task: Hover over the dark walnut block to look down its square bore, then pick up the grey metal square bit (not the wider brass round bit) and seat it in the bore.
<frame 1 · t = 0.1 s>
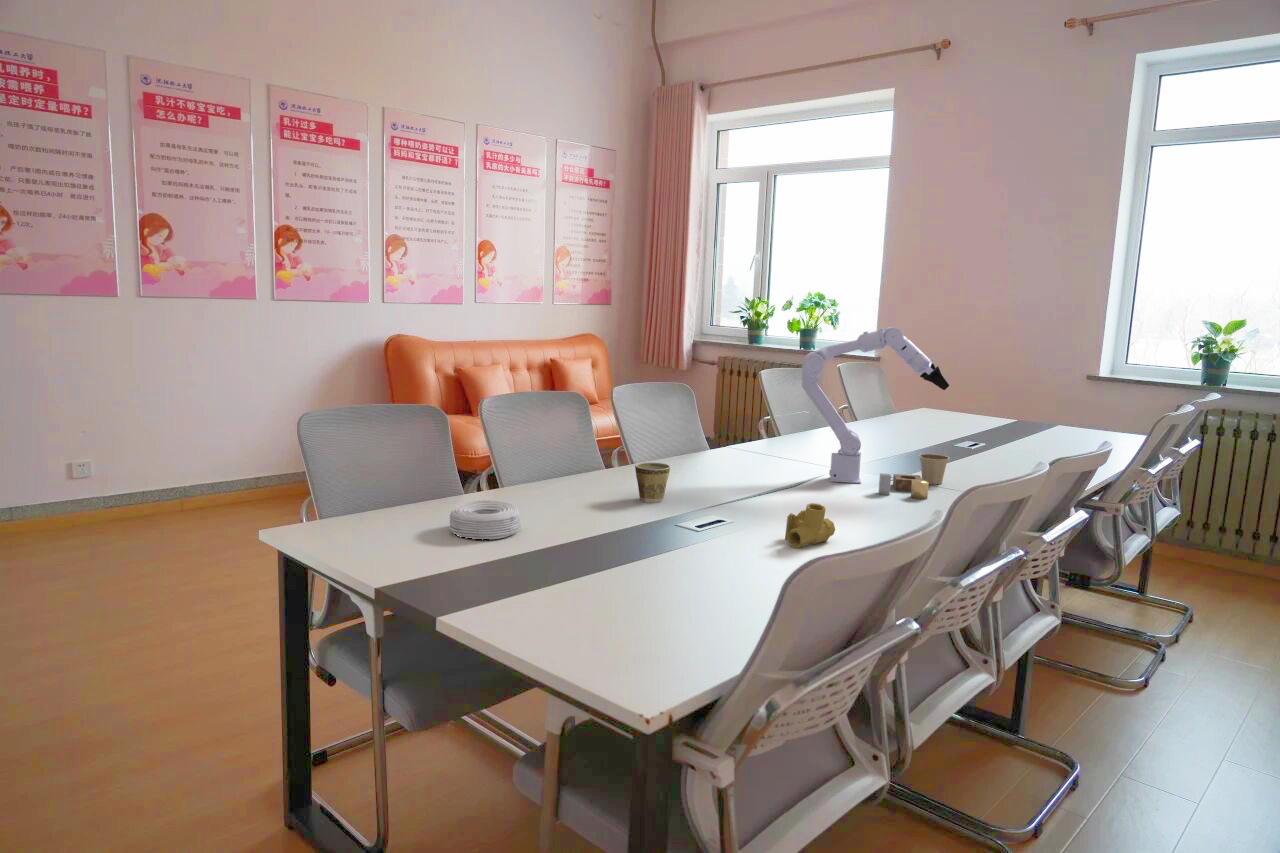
hand: (944, 386, 267), 32 cm above the table, tool tilted 50°, fingers open, 7 cm apart
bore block: (907, 488, 268), on the table
square bit: (883, 493, 260), on the table
cable: (486, 532, 210), on the table
flower pot: (932, 483, 277), on the table
round bit: (919, 497, 256), on the table
tan pipe tee fitting: (804, 542, 208), on the table
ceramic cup: (652, 499, 247), on the table
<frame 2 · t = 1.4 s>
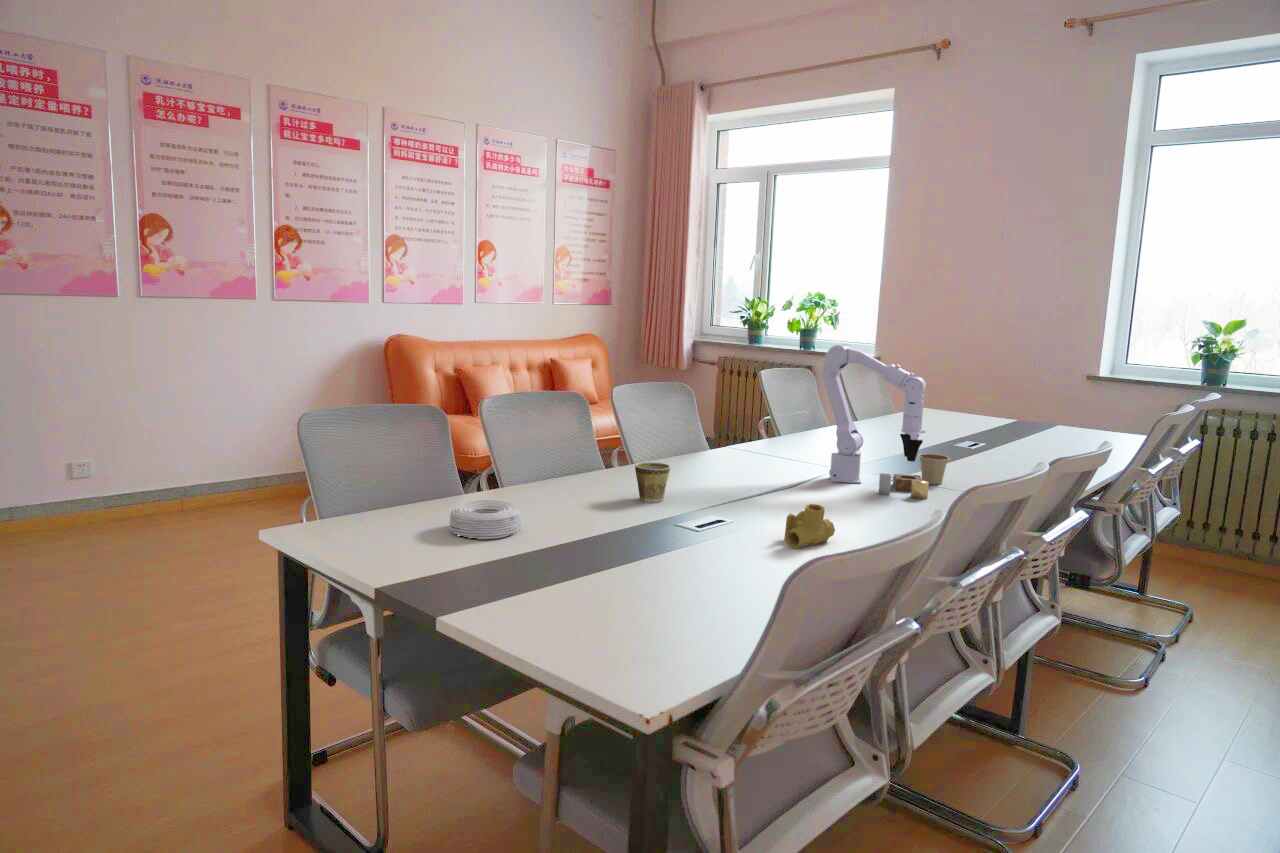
hand: (909, 458, 267), 9 cm above the table, tool pointing down, fingers open, 7 cm apart
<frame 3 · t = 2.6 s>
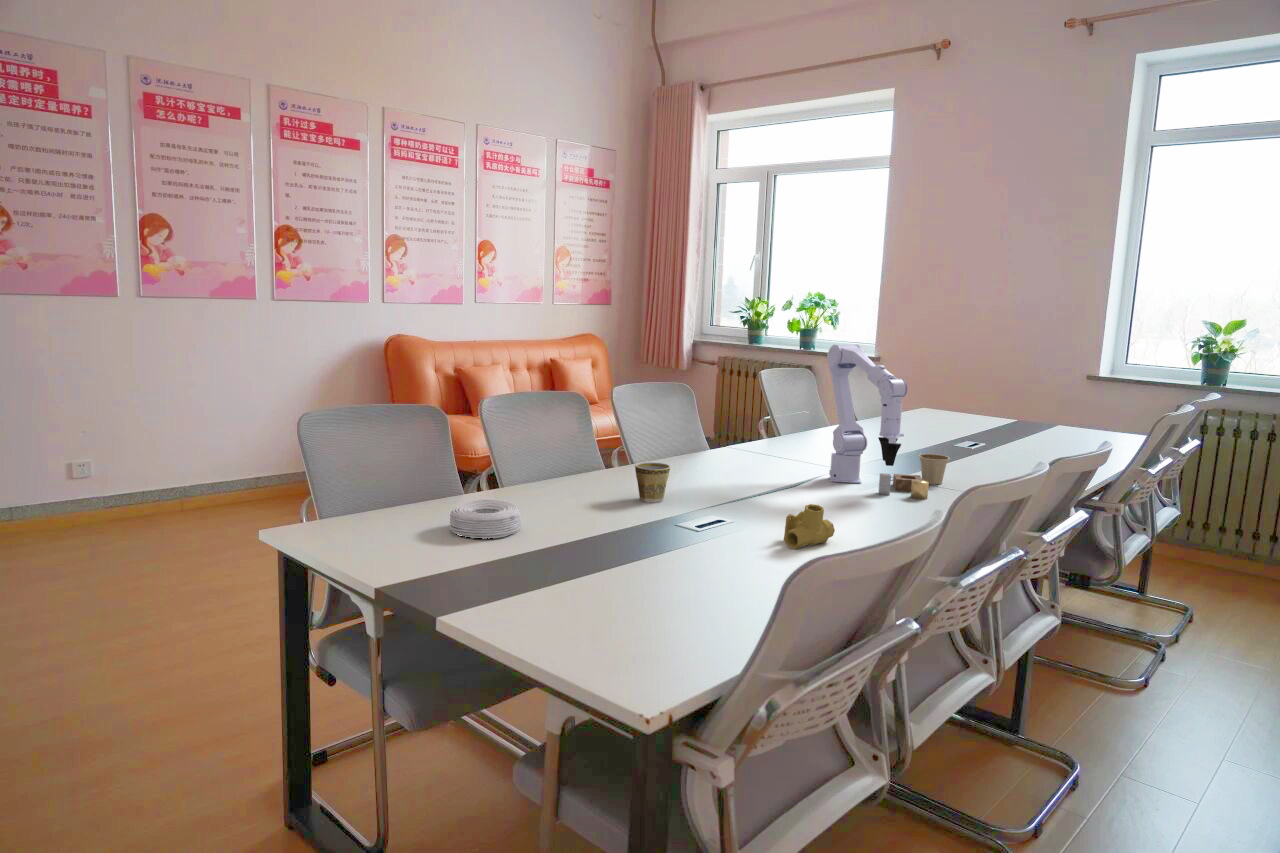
hand: (887, 463, 259), 9 cm above the table, tool pointing down, fingers open, 7 cm apart
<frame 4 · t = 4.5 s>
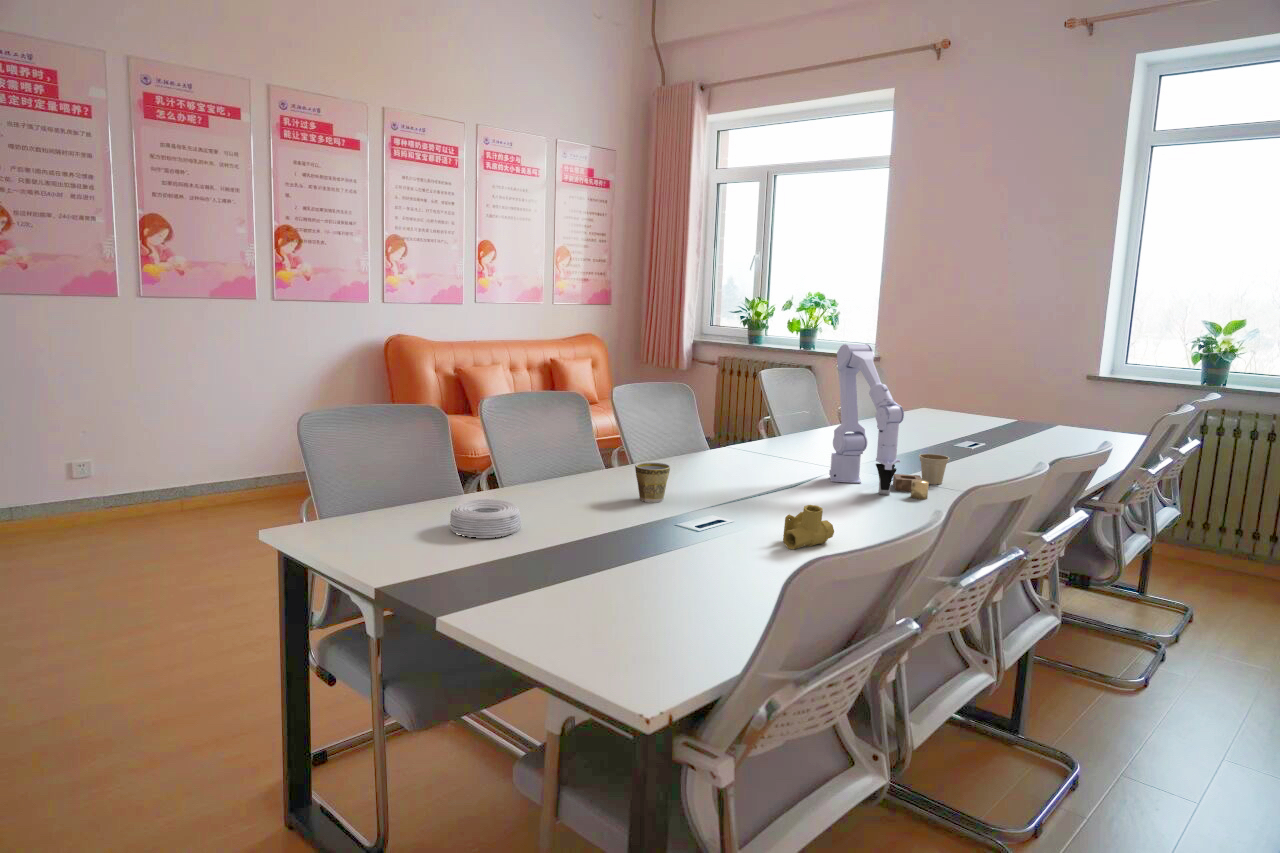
hand: (884, 488, 260), 2 cm above the table, tool pointing down, fingers closed on square bit, 3 cm apart
square bit: (884, 493, 260), on the table, touching gripper
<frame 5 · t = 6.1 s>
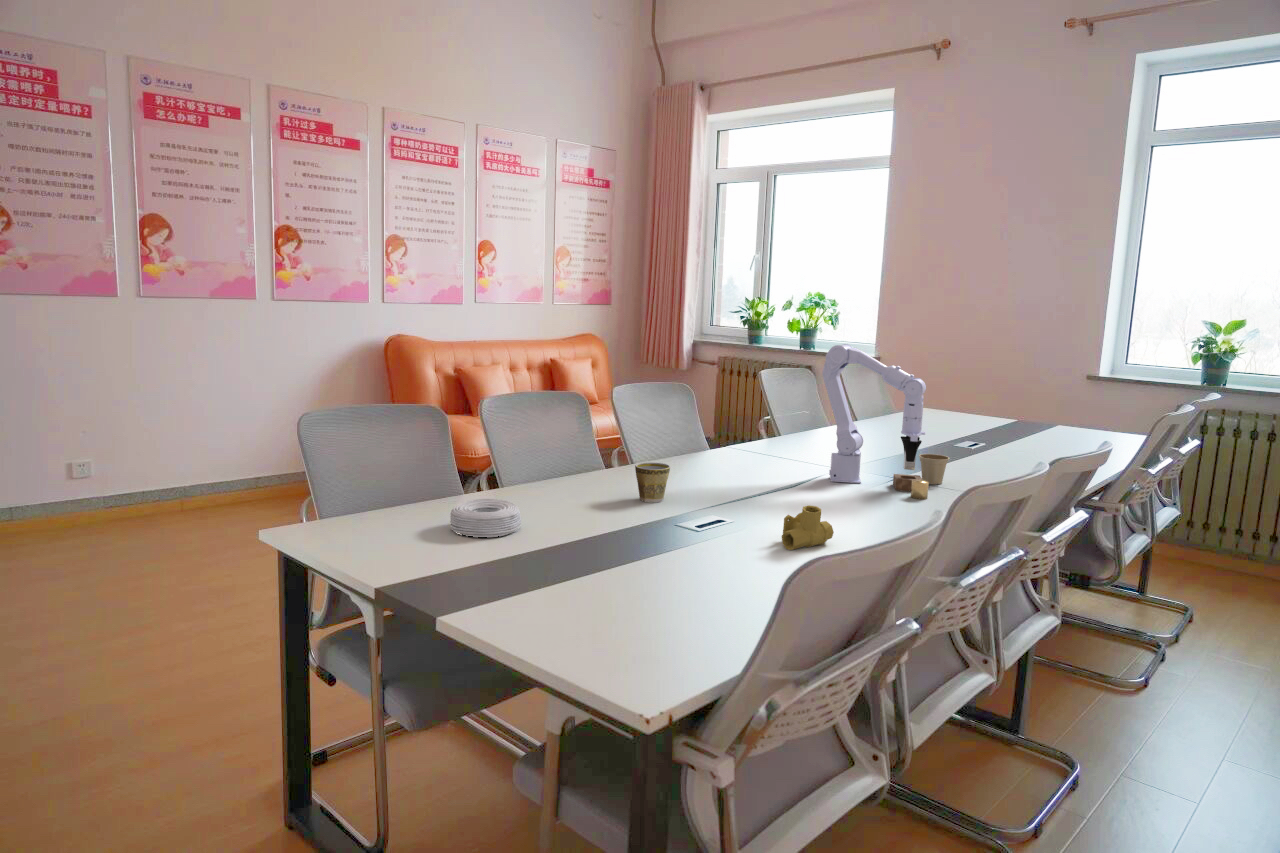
hand: (909, 460, 267), 9 cm above the table, tool pointing down, fingers closed on square bit, 3 cm apart
square bit: (908, 468, 267), point 6 cm above the table, touching gripper
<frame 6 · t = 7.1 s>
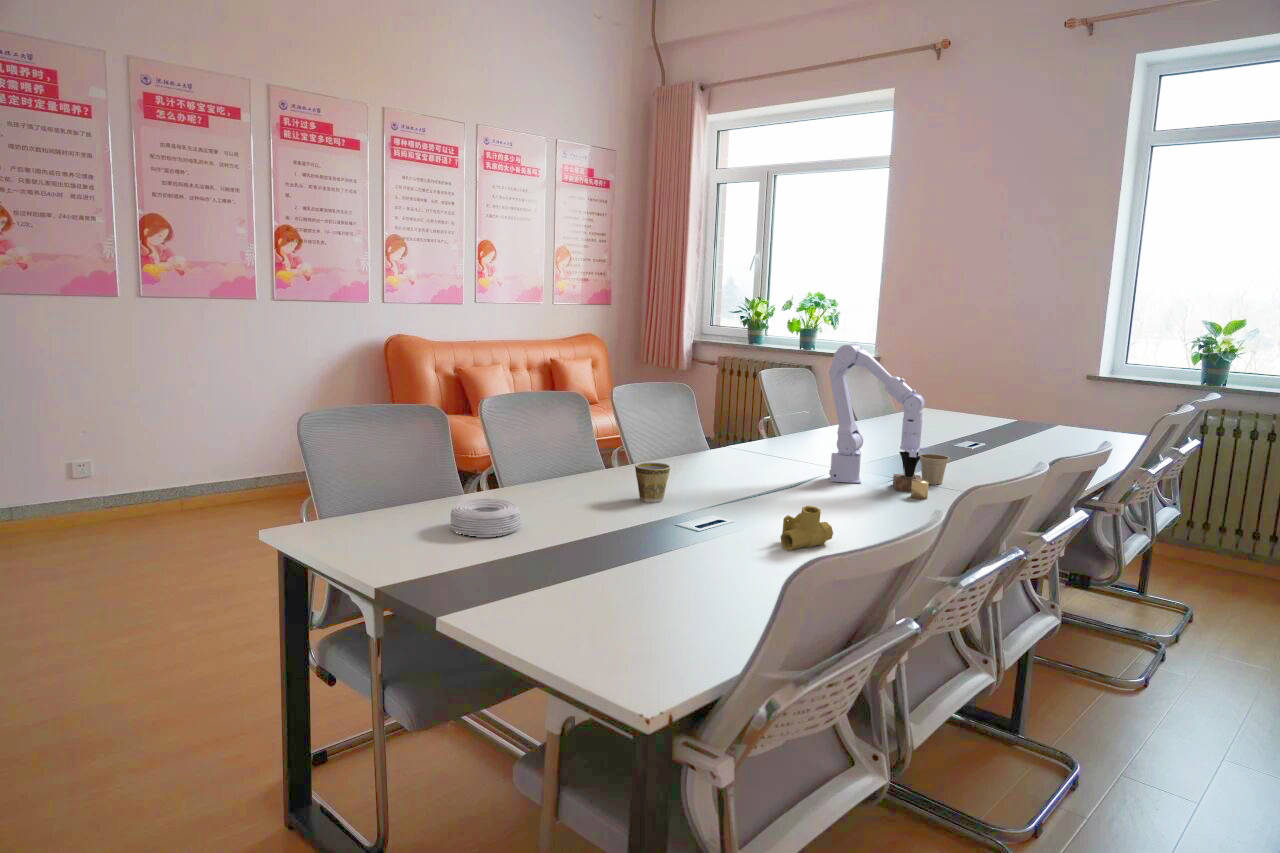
hand: (908, 475, 268), 4 cm above the table, tool pointing down, fingers closed on square bit, 3 cm apart
square bit: (908, 484, 268), point 1 cm above the table, touching gripper
when the fingers open (4 cm above the table, at t = 7.7 s): square bit drops 1 cm, resting in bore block.
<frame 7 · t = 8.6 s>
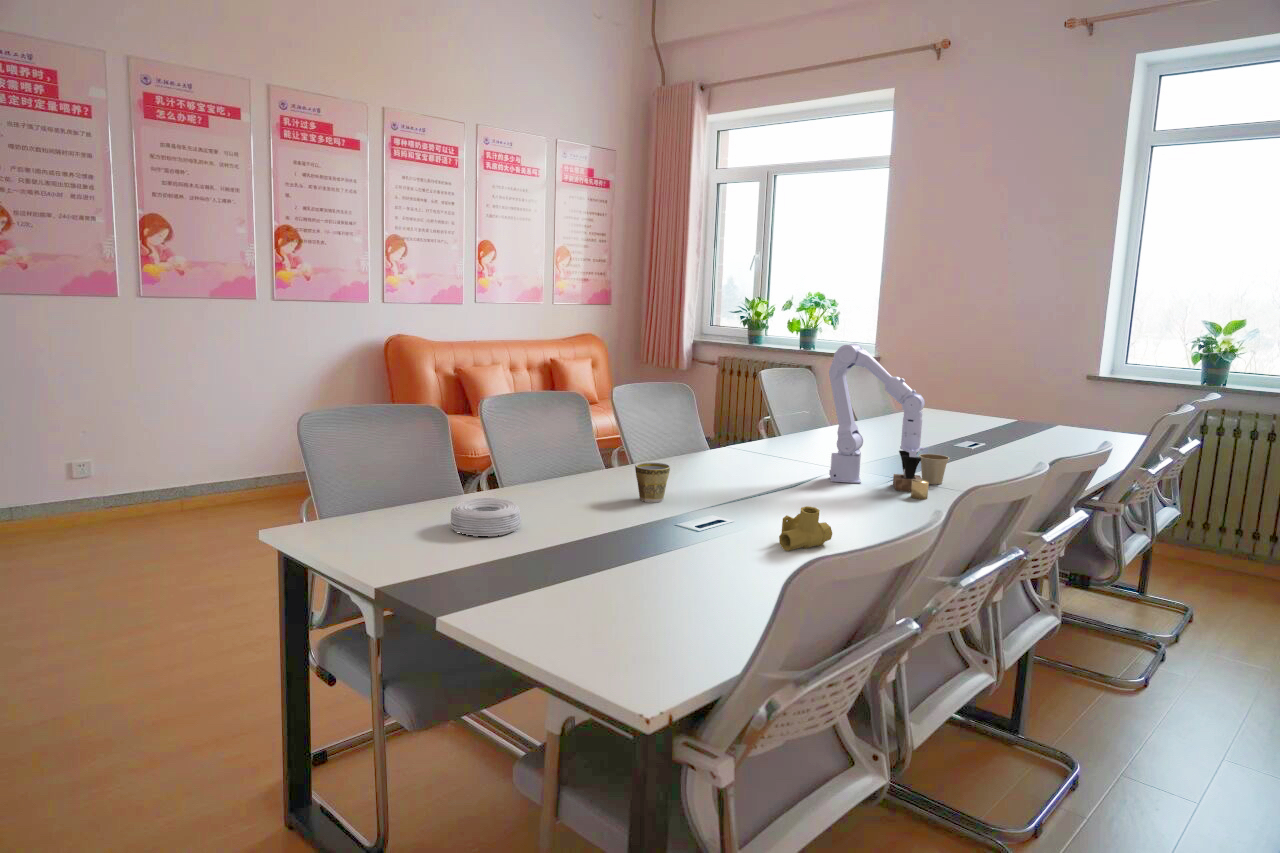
hand: (908, 475, 268), 4 cm above the table, tool pointing down, fingers open, 7 cm apart
square bit: (907, 488, 268), resting in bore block
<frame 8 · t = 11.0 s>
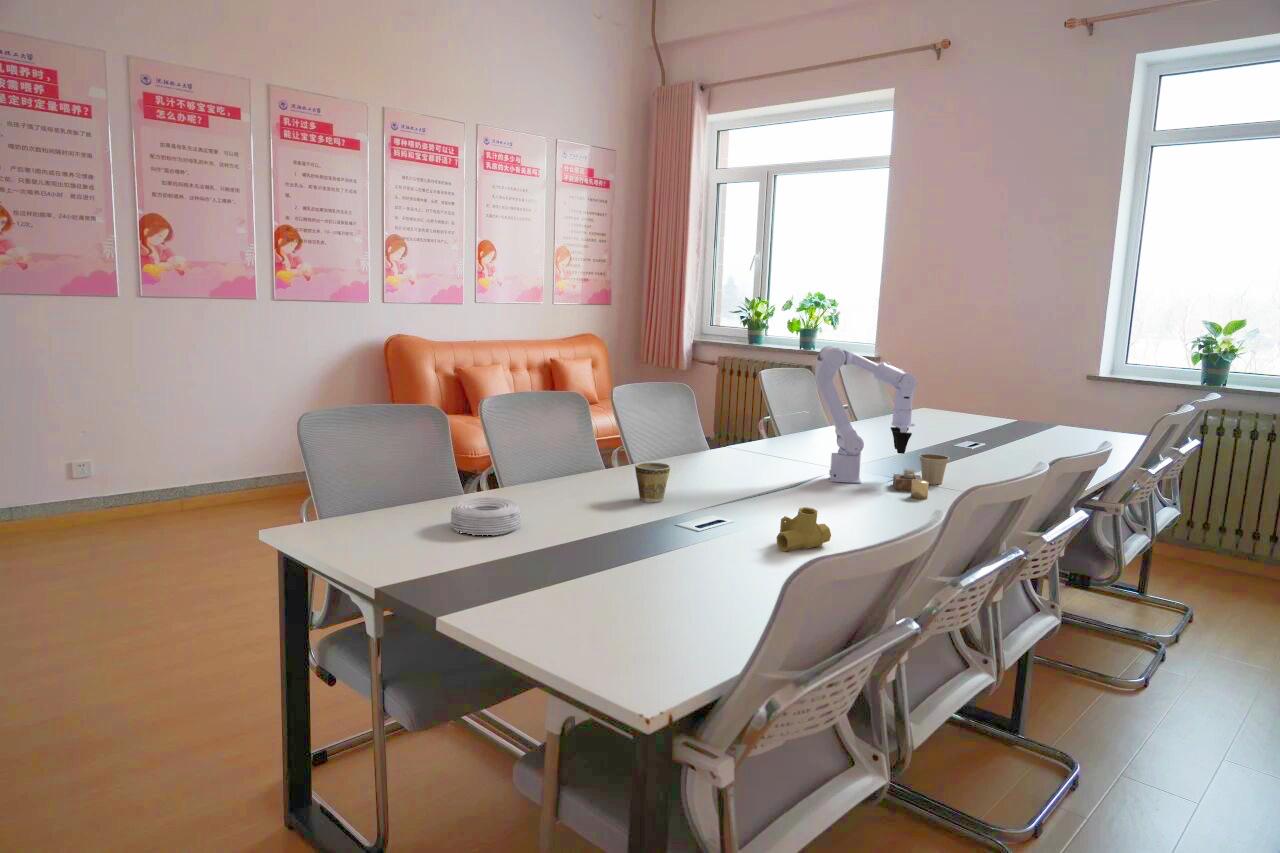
hand: (899, 451, 277), 10 cm above the table, tool pointing down, fingers open, 7 cm apart
at the end: square bit 0.1 cm off-centre on the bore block, point 0.0 cm above the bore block's base; square bit tilted 0°; the gripper is holding nothing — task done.
